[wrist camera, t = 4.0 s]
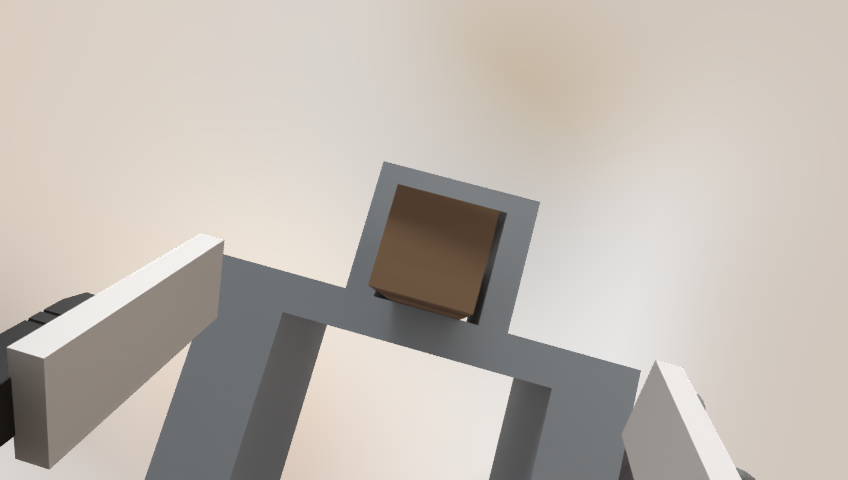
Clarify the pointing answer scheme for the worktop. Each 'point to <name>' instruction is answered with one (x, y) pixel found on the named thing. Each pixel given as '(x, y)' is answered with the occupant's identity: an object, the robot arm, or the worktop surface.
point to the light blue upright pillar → (396, 323)
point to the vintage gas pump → (627, 476)
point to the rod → (434, 252)
